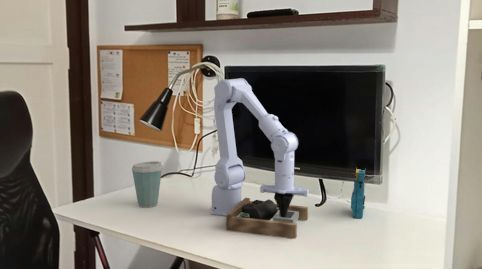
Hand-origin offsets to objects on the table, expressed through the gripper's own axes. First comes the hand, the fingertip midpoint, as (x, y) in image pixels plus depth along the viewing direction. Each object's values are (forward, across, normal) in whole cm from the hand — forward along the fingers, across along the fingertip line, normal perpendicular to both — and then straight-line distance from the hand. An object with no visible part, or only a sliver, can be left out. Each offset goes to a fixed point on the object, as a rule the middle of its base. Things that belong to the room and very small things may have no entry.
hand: (283, 217), depth 154 cm
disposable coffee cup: (+3, -50, +6) cm, 50 cm away
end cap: (+3, -8, 0) cm, 8 cm away
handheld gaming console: (+3, +20, +19) cm, 28 cm away
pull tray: (+3, -5, 0) cm, 5 cm away
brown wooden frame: (+3, -6, 0) cm, 6 cm away
